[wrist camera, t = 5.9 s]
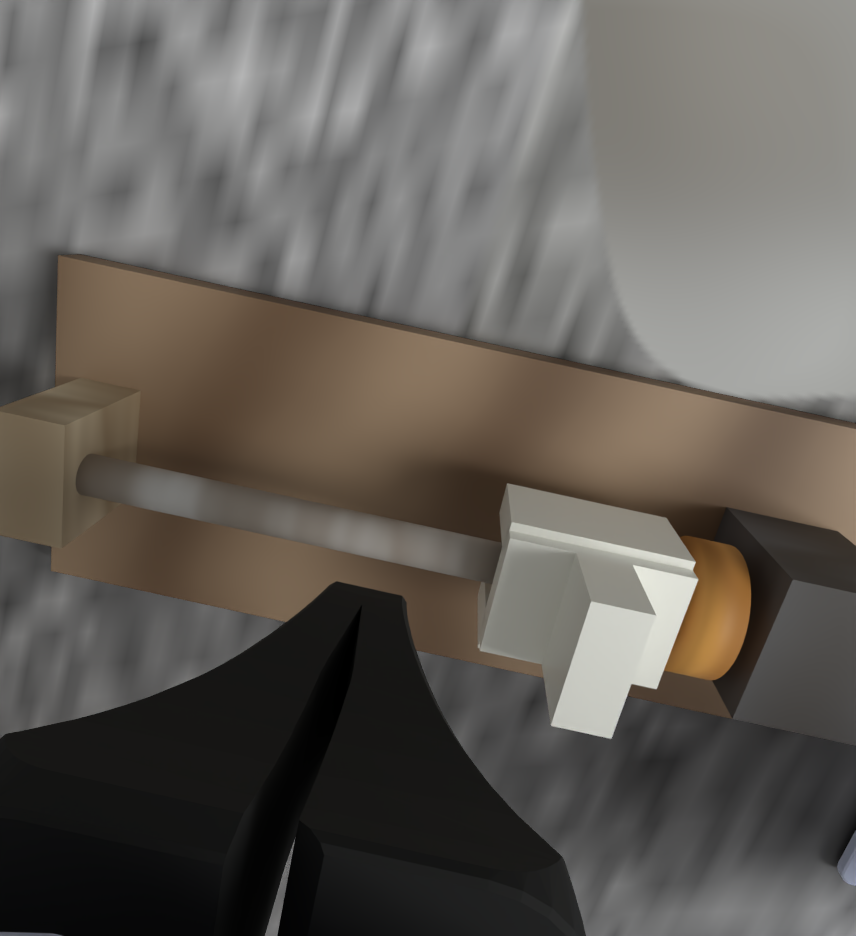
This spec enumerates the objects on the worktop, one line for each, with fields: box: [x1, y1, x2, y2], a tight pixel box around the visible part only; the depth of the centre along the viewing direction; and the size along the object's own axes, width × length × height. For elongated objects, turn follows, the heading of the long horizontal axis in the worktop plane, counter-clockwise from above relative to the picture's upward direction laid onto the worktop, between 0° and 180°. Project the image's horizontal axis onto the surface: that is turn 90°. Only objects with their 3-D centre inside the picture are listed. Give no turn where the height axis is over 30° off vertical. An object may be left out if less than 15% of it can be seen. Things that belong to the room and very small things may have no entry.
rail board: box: [0, 254, 856, 746], centre depth 17 cm, size 24×9×5 cm, turn 79°
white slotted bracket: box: [478, 483, 698, 739], centre depth 15 cm, size 4×3×5 cm
